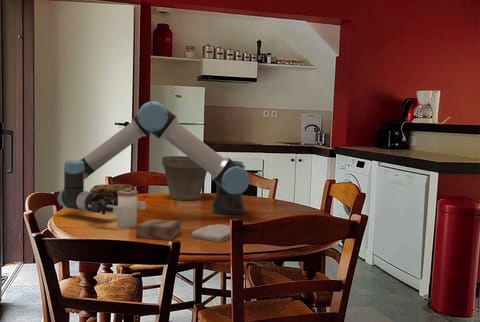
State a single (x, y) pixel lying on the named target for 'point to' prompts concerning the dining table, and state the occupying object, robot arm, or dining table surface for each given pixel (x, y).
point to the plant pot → (183, 177)
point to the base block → (158, 229)
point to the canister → (127, 208)
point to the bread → (110, 190)
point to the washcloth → (213, 233)
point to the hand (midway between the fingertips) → (133, 208)
